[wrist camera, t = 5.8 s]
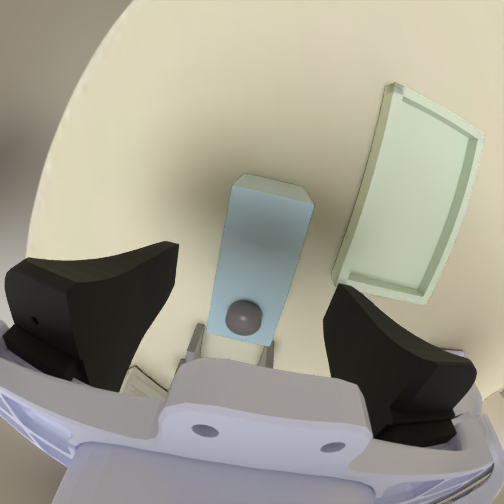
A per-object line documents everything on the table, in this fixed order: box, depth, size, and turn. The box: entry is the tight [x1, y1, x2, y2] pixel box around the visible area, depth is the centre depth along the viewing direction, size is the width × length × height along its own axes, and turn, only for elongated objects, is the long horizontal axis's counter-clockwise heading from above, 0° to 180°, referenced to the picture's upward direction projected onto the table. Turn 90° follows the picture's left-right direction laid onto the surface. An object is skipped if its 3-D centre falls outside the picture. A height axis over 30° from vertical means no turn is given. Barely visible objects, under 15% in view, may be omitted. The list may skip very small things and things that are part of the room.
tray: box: [331, 83, 485, 306], centre depth 17 cm, size 8×14×2 cm, turn 167°
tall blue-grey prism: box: [206, 173, 314, 346], centre depth 17 cm, size 4×9×6 cm, turn 168°
